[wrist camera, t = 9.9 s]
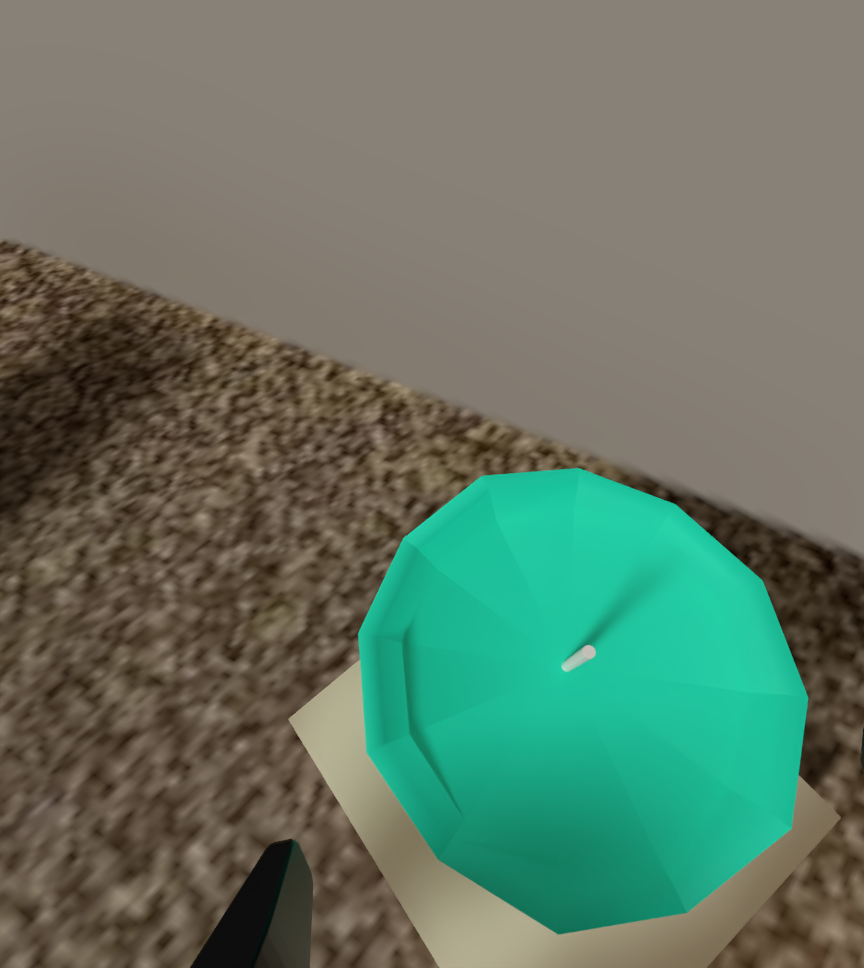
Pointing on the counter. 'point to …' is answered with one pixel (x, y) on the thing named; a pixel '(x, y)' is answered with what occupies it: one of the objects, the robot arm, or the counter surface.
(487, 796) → the candle
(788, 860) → the beige square slab
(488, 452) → the counter surface
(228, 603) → the counter surface
